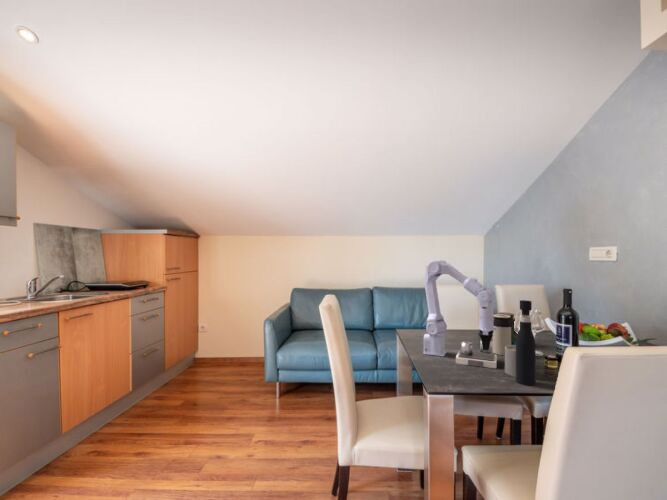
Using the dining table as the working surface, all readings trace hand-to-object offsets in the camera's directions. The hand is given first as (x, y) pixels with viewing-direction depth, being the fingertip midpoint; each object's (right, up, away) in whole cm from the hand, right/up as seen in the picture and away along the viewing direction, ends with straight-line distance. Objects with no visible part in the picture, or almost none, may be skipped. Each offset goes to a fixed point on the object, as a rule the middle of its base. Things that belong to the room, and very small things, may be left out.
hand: (486, 348), depth 156 cm
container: (+24, -7, +33) cm, 42 cm away
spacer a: (-7, -3, +4) cm, 9 cm away
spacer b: (0, -2, 0) cm, 2 cm away
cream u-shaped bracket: (-3, -6, +2) cm, 8 cm away
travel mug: (+14, -7, +16) cm, 22 cm away
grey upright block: (+8, -7, -11) cm, 15 cm away
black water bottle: (+5, -6, -23) cm, 24 cm away
